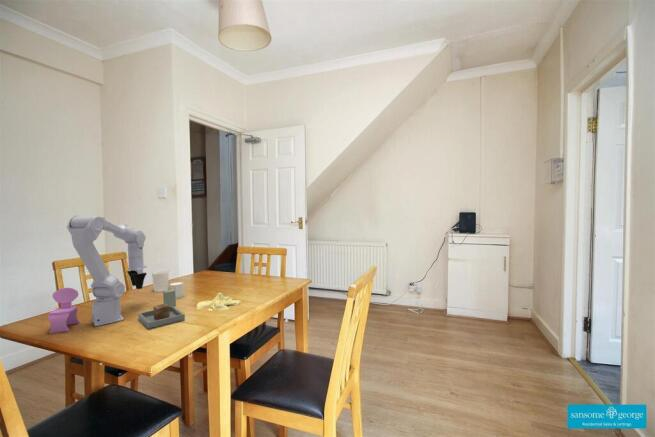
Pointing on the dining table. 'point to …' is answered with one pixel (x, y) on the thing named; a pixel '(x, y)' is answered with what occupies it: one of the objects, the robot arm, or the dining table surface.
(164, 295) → the tall block
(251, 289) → the dining table surface
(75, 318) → the toy chair
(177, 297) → the shot glass
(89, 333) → the dining table surface
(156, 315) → the short block
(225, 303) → the cloth
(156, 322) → the tray
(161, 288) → the white cup
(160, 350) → the dining table surface
